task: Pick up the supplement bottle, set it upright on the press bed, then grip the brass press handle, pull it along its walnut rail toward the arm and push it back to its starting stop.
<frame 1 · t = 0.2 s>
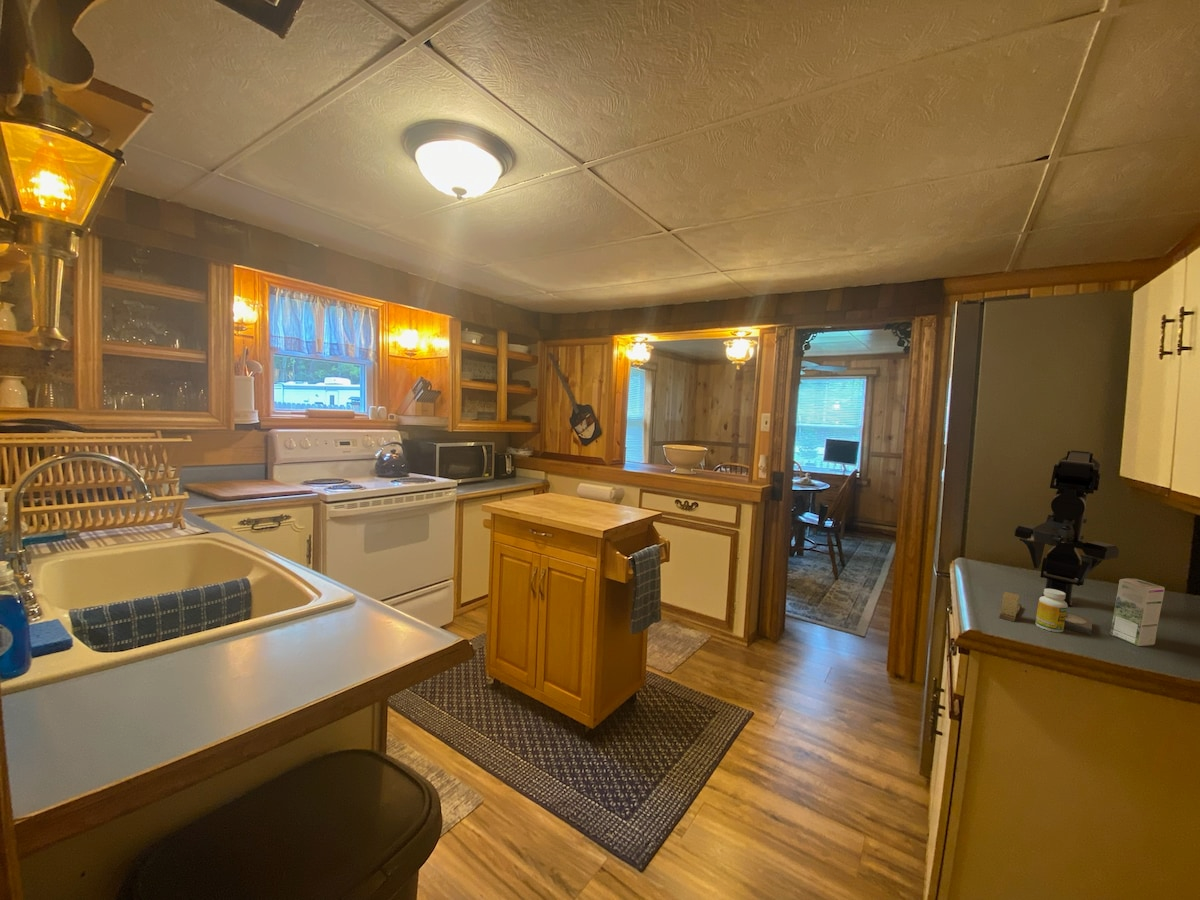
hand: (1057, 574, 125), 14 cm above the counter, tool pointing down, fingers open, 9 cm apart
syrup box: (1131, 640, 123), on the counter
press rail: (1010, 612, 135), on the counter
press handle: (1010, 604, 131), point 4 cm above the counter, slide at 0.0 cm
press bed: (1066, 623, 130), on the counter
supplement bottle: (1048, 628, 127), on the counter
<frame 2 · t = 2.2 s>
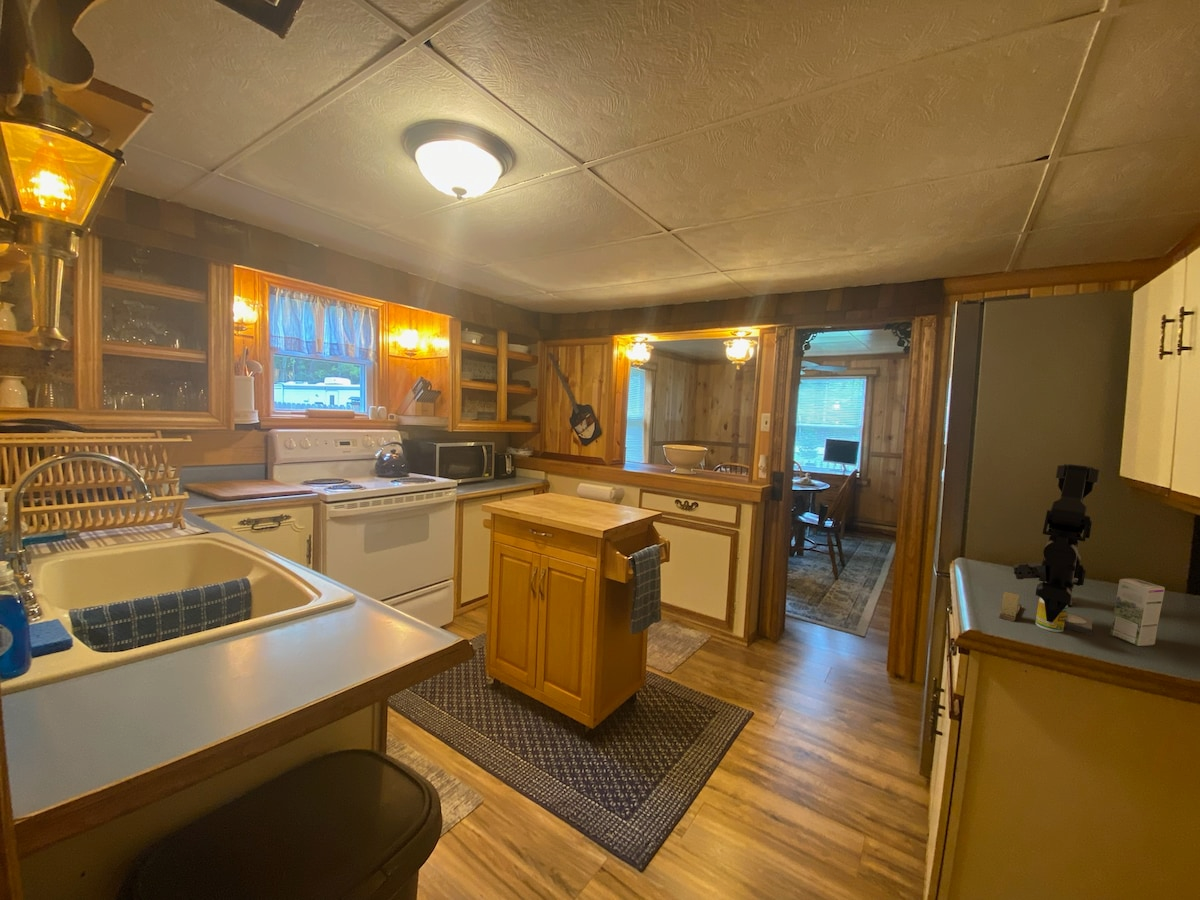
hand: (1050, 618, 127), 3 cm above the counter, tool pointing down, fingers closed on supplement bottle, 5 cm apart
supplement bottle: (1048, 628, 127), on the counter, touching gripper
everything else where it was.
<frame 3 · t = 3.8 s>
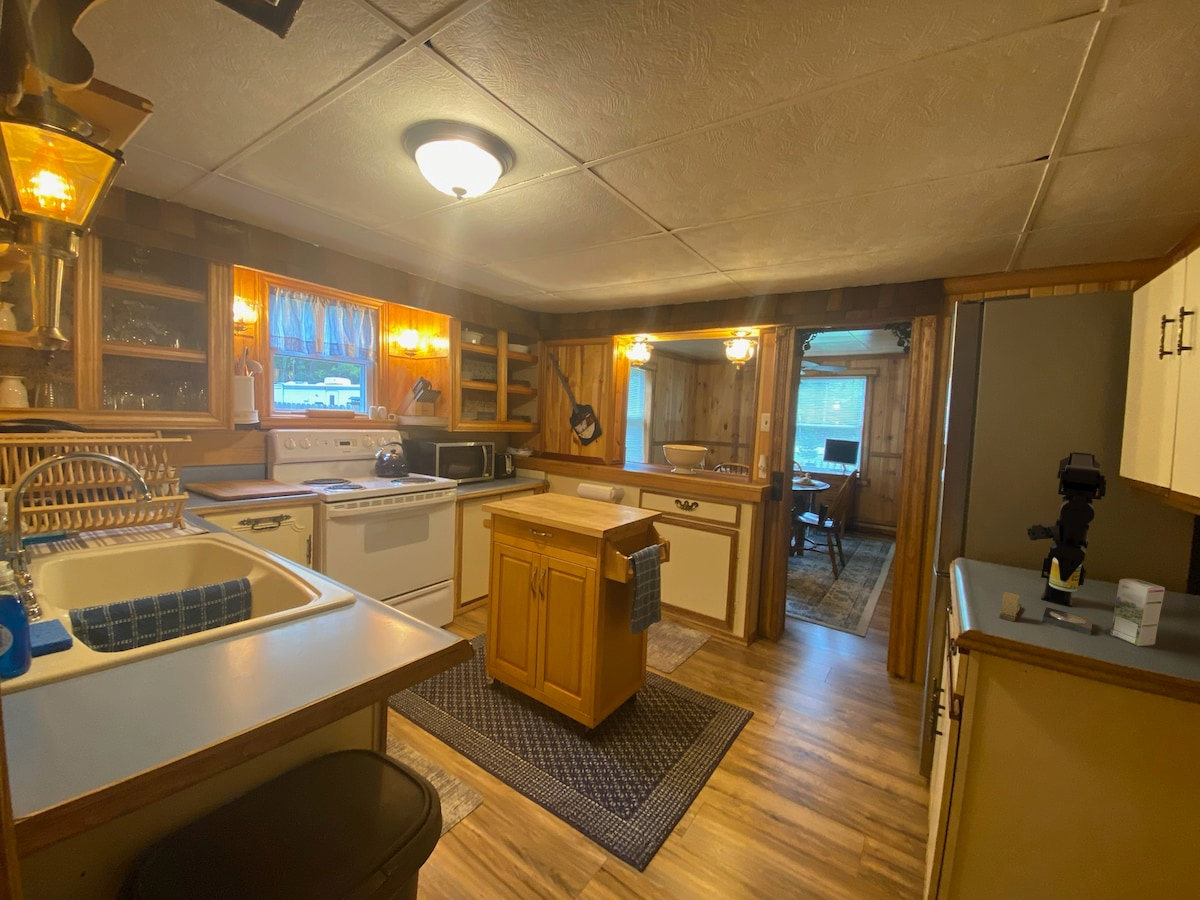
hand: (1064, 578, 127), 12 cm above the counter, tool pointing down, fingers closed on supplement bottle, 5 cm apart
supplement bottle: (1062, 588, 127), point 10 cm above the counter, touching gripper
everything else where it was.
when the fingers open (5 cm above the counter, at t = 5.9 s): supplement bottle moves 1 cm, resting on press bed.
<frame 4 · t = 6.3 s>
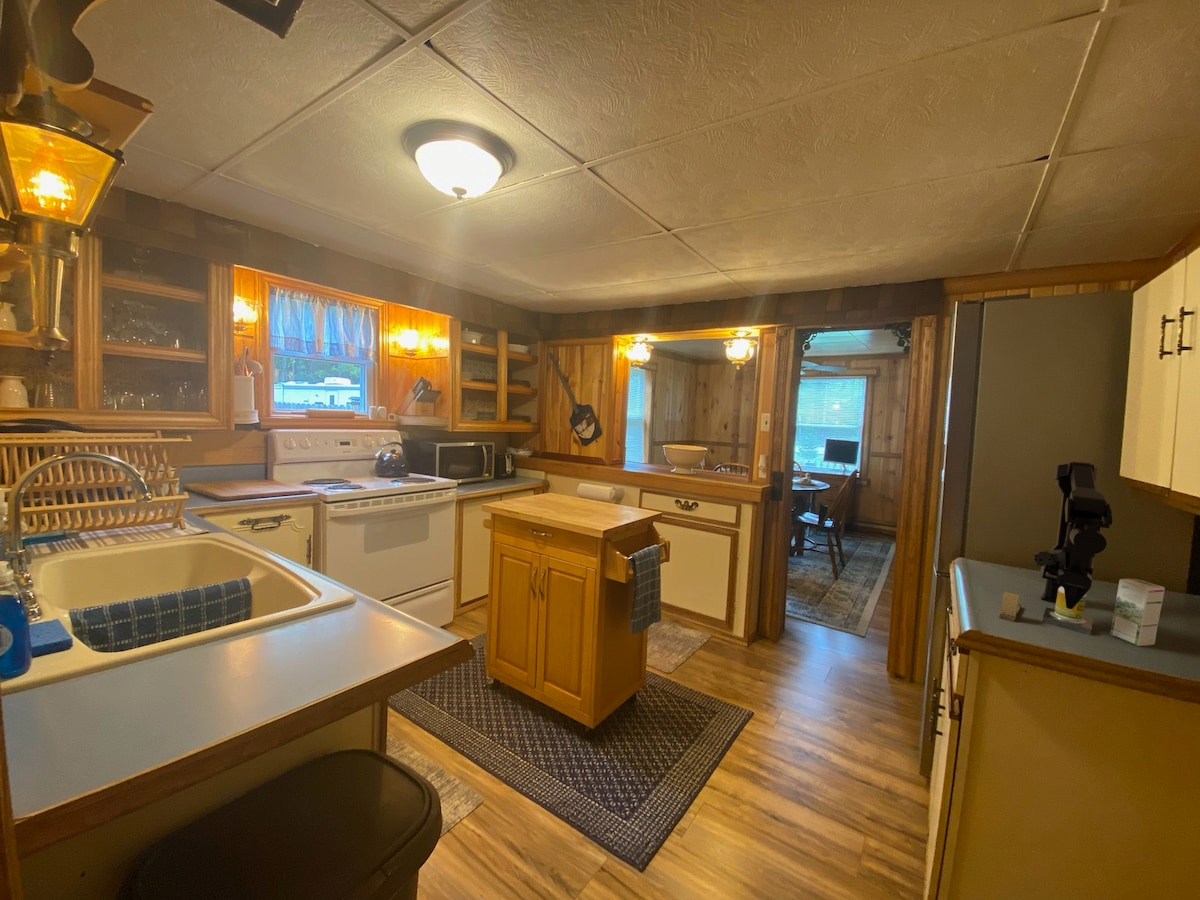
hand: (1070, 603, 130), 5 cm above the counter, tool pointing down, fingers open, 9 cm apart
supplement bottle: (1067, 617, 130), point 1 cm above the counter, touching press bed
everything else where it was.
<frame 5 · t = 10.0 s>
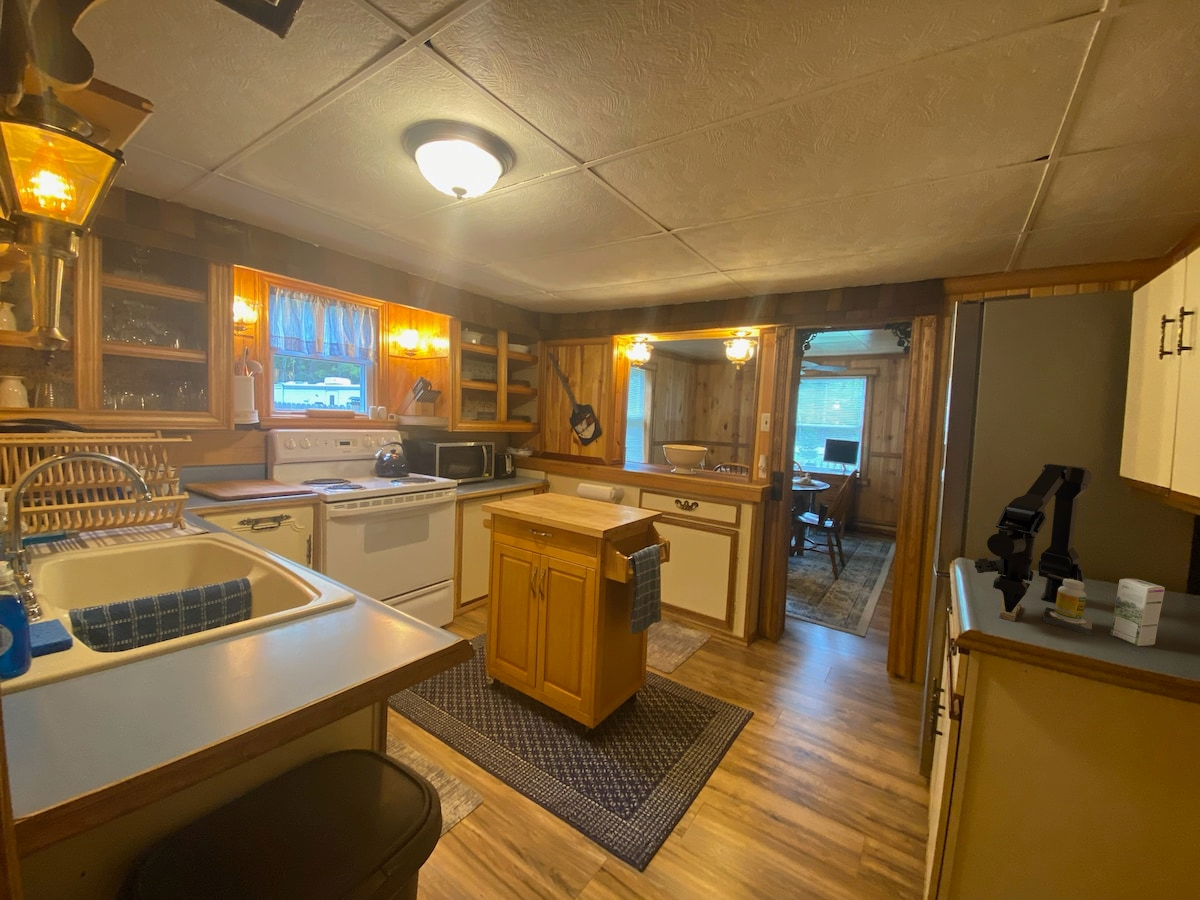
hand: (1009, 610, 131), 2 cm above the counter, tool pointing down, fingers closed on press handle, 3 cm apart
press handle: (1010, 604, 131), point 4 cm above the counter, slide at 0.0 cm, touching gripper
everything else where it was.
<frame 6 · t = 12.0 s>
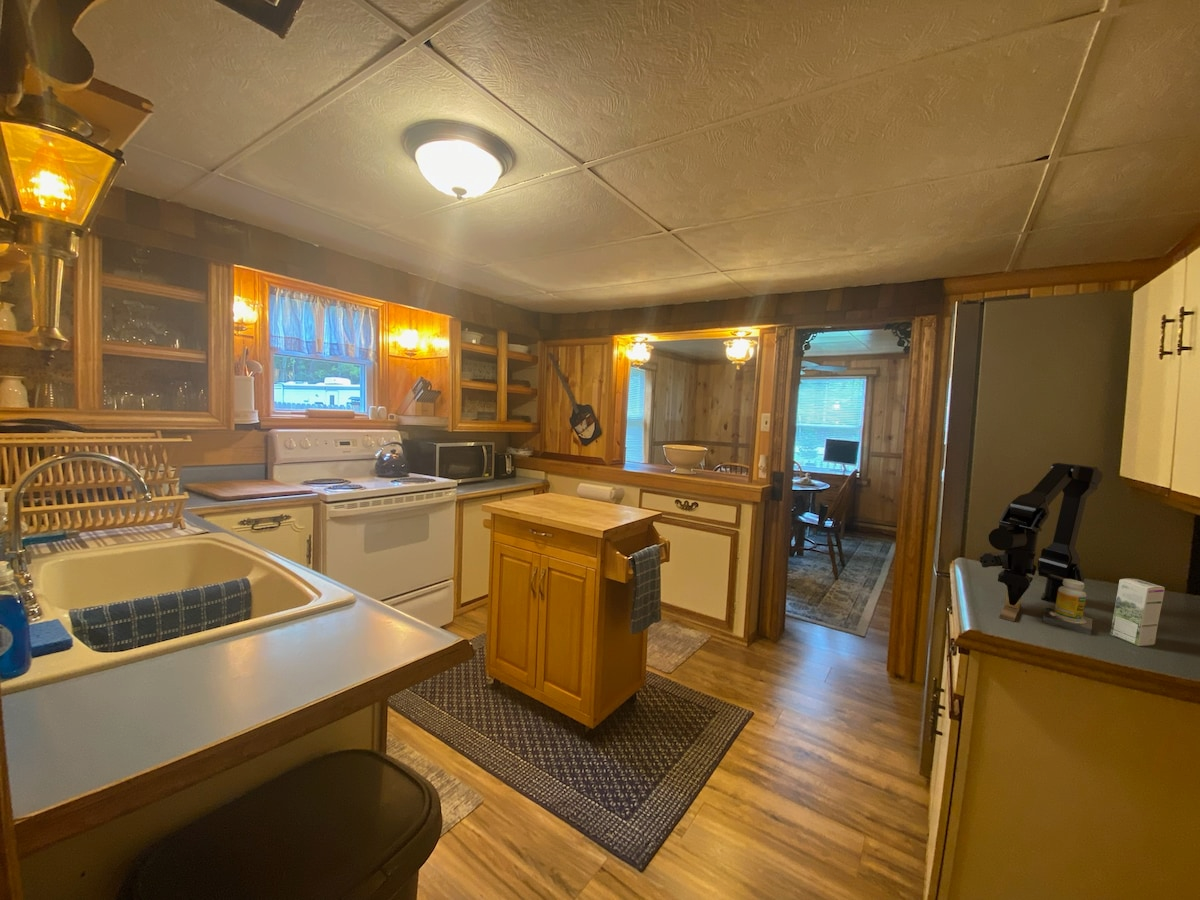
hand: (1012, 603, 137), 2 cm above the counter, tool pointing down, fingers closed on press handle, 3 cm apart
press handle: (1013, 597, 136), point 4 cm above the counter, slide at 7.4 cm, touching gripper
everything else where it was.
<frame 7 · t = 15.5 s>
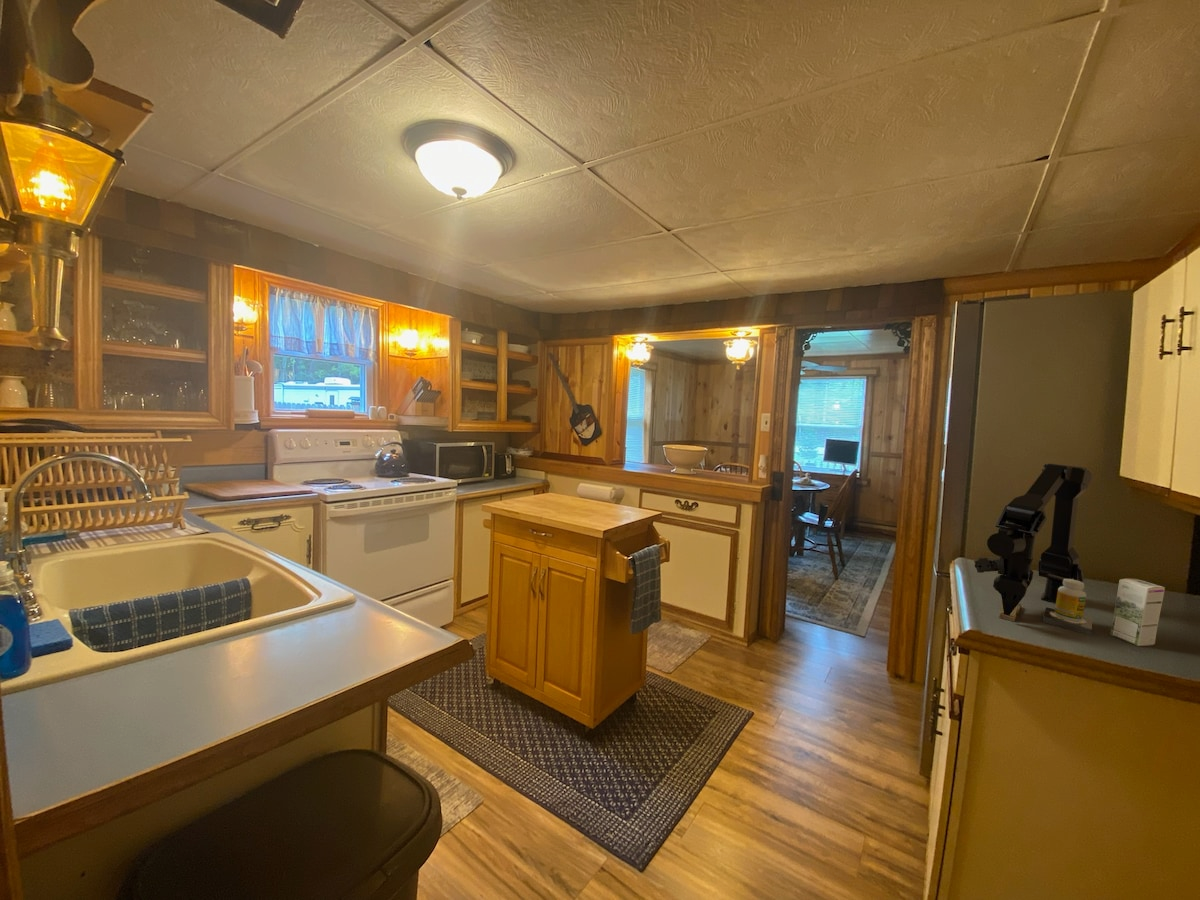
hand: (1009, 609, 131), 2 cm above the counter, tool pointing down, fingers open, 9 cm apart
press handle: (1010, 604, 131), point 4 cm above the counter, slide at 0.0 cm
everything else where it was.
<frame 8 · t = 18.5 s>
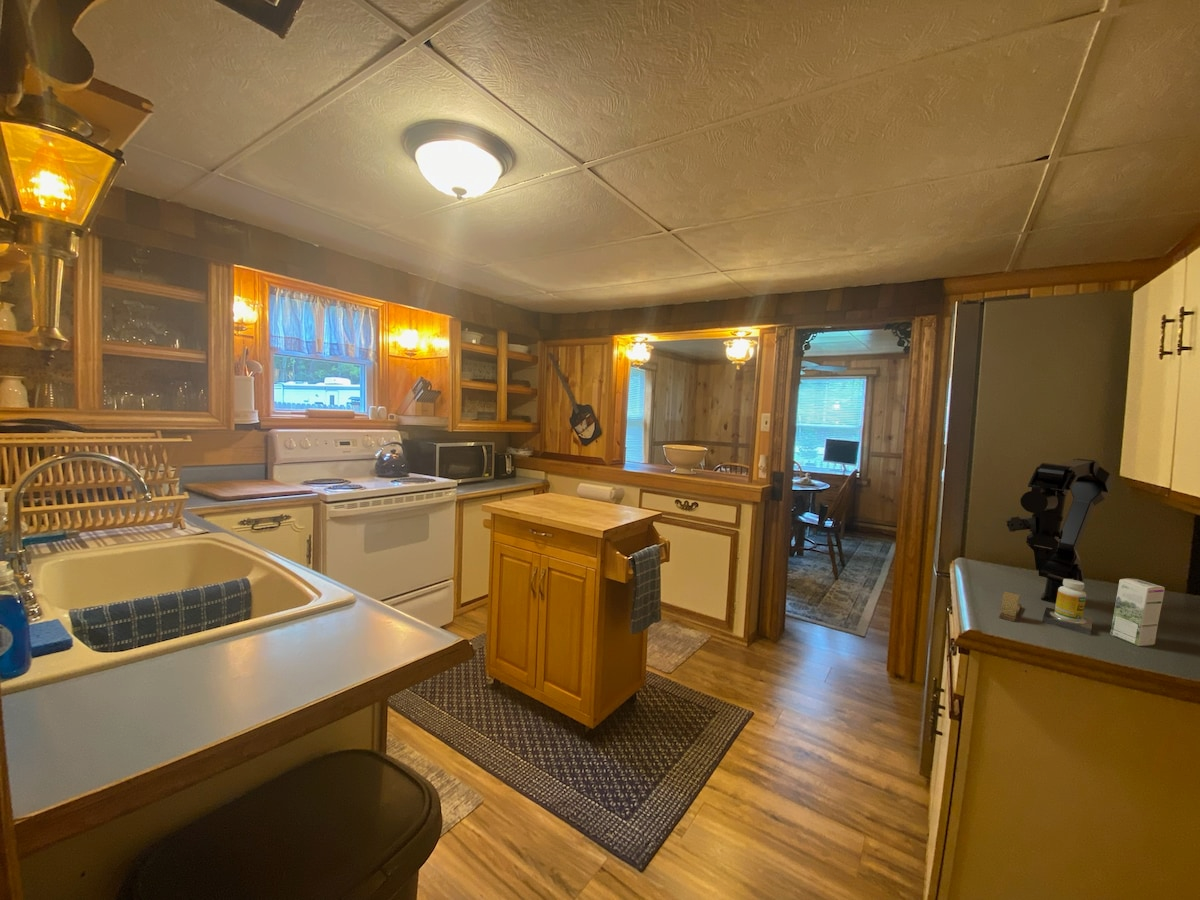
hand: (1040, 566, 137), 12 cm above the counter, tool pointing down, fingers open, 9 cm apart
nothing on the counter moved.
at the end: supplement bottle 0.0 cm off-centre on the press bed, point 1.4 cm above the press bed's base; supplement bottle tilted 0°; press handle slide at 0.0 cm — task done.
